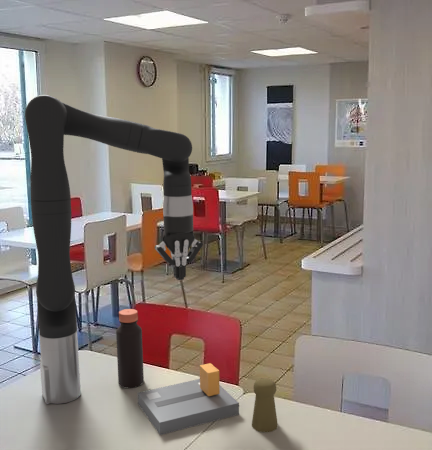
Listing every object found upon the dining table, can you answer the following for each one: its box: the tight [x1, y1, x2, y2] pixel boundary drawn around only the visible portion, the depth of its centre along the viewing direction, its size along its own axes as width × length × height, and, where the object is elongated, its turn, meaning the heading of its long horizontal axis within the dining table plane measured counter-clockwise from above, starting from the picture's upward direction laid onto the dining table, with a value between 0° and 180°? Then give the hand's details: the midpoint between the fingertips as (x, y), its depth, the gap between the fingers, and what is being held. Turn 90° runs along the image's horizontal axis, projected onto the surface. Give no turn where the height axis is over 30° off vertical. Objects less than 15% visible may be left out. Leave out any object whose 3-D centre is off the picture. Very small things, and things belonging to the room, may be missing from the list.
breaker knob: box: [199, 362, 220, 396], centre depth 140 cm, size 3×5×6 cm, turn 26°
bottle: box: [115, 308, 145, 389], centre depth 151 cm, size 7×7×20 cm
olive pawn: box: [251, 377, 279, 433], centre depth 130 cm, size 6×6×11 cm
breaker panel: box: [136, 378, 240, 436], centre depth 139 cm, size 20×16×3 cm
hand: (179, 279), depth 147 cm, fingers closed
